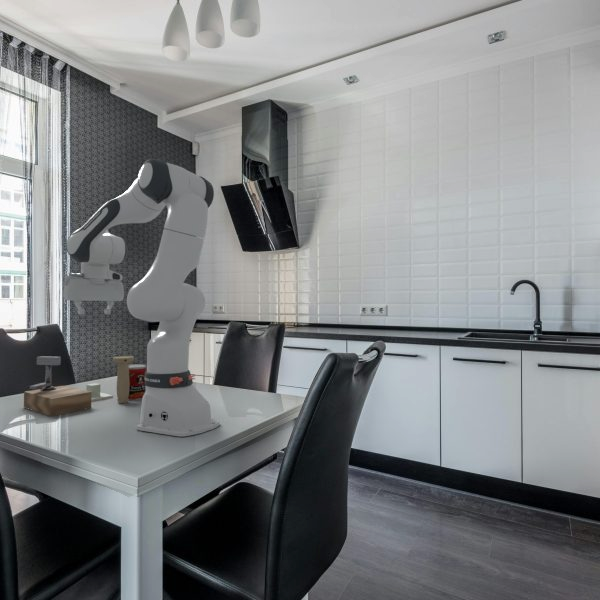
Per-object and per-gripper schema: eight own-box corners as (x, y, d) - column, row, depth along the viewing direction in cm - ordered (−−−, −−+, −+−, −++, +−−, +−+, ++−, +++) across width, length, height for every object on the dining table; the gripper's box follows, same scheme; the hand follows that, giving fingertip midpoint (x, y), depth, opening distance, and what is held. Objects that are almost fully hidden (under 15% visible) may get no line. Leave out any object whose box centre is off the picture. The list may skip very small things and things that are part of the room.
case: (91, 407, 131) (91, 391, 131) (51, 416, 121) (51, 398, 121) (63, 400, 140) (63, 385, 140) (23, 407, 130) (24, 391, 130)
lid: (112, 398, 146) (113, 383, 146) (87, 403, 138) (87, 388, 138) (98, 395, 151) (98, 381, 151) (73, 400, 143) (73, 385, 144)
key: (43, 393, 127) (43, 359, 127) (22, 392, 128) (23, 359, 128) (61, 388, 135) (62, 356, 135) (41, 387, 136) (42, 356, 136)
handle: (110, 402, 139) (111, 357, 139) (130, 399, 142) (131, 355, 143) (114, 405, 135) (115, 358, 135) (135, 402, 139) (135, 357, 139)
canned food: (130, 400, 141) (130, 368, 141) (117, 397, 146) (118, 366, 146) (150, 396, 147) (150, 365, 147) (137, 393, 152) (138, 363, 152)
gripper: (69, 271, 135) (69, 314, 135) (126, 276, 152) (126, 314, 152) (59, 272, 138) (59, 314, 138) (116, 276, 155) (115, 313, 155)
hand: (94, 314), depth 145 cm, fingers open, 8 cm apart
